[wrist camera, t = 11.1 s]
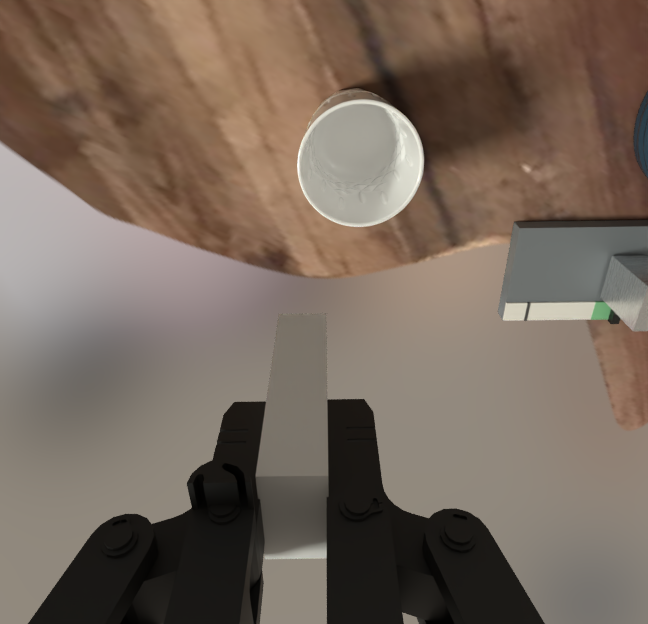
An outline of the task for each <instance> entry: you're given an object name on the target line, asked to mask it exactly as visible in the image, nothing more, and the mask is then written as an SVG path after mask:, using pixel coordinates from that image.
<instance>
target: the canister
mask: <svg viewBox="0 0 648 624" xmlns="http://www.w3.org/2000/svg"><path fill="white" fill-rule="evenodd" d="M634 151H635V156H636V159H637V162H638V164H639V166H640V168H641V170H642V172H643V173H644V174H645V176H646V177H647V178H648V91H647V93H646V95H645V97H644V99H643V101H642V103H641V106H640V108H639V111H638V114H637V118H636V122H635V128H634Z"/></svg>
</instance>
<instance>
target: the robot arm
mask: <svg viewBox="0 0 648 624" xmlns="http://www.w3.org/2000/svg"><path fill="white" fill-rule="evenodd" d="M187 486H188V491H189V496H190V500H191V505H192V508H191V509H190V510H188V511H187V512H185V513H183V514H181V515H179V516H176V517H174V518H171V519H167V520H164V521H161V522H157V523H154V524H151V523H150V522H149V520H148V519H147V518H145V517H143V516H141V515H138V514H124V515H120V516H117V517H113V518H112V519H110V520H108V521H106V522H105V523H103V524H102V525H100V526H99V527H98V528H97V529H96V530H95V532H94V533H93V534H92V535H91V536H90V538H89V539H88V540H87V542H86V543H85V544H84V546H83V547H82V549H81V550H80V551H79V553H78V554H77V556H76V557H75V558H74V560H73V561H72V563H71V564H70V565H69V567H68V568H67V570H66V571H65V572H64V574H63V576H62V577H61V578H60V580H59V581H58V582H57V584H56V585H55V587H54V588H53V589H52V591H51V592H50V594H49V595H48V596H47V598H46V599H45V601H44V602H43V603H42V605H41V606H40V608H39V609H38V611H37V612H36V613H35V615H34V616H33V617H32V619H31V620H30V622H29V623H28V624H260V614H261V603H262V594H263V584H264V583H263V574H262V564H263V554H265V559H309V558H310V559H313V558H327V624H404V623H403V615H402V612H403V613H406V614H409V615H412V616H415V617H417V619H418V622H419V624H545V623H544V622H543V620H542V618H541V617H540V615H539V613H538V612H537V610H536V608H535V607H534V605H533V603H532V602H531V600H530V598H529V597H528V595H527V593H526V592H525V590H524V588H523V587H522V585H521V583H520V582H519V580H518V578H517V577H516V575H515V573H514V572H513V570H512V568H511V567H510V565H509V563H508V562H507V560H506V558H505V557H504V555H503V553H502V552H501V550H500V548H499V547H498V545H497V543H496V542H495V540H494V538H493V537H492V535H491V533H490V532H489V530H488V528H487V527H486V526H485V525H484V524H483V523H482V521H481V520H480V519H478V518H477V517H475V516H474V515H472V514H471V513H469V512H466V511H463V510H459V509H443V510H441V511H438V512H436V513H434V514H433V515H432V516H431V517H430V518H425V517H422V516H418V515H415V514H411V513H409V512H406V511H403V510H402V509H400V508H399V507H397V506H396V505H394V504H393V503H392V502H391V501H390V500H389V499H388V497H387V495H386V494H385V492H384V489H383V485H382V478H381V470H380V462H379V454H378V446H377V438H376V430H375V422H374V415H373V411H372V410H371V408H370V407H369V405H368V404H367V403H366V401H365V400H364V399H347V400H346V399H342V400H338V399H337V400H327V336H326V313H322V314H279V315H278V322H277V330H276V337H275V343H274V351H273V357H272V365H271V371H270V378H269V385H268V392H267V400H266V402H234V403H233V404H232V406H231V407H230V408H229V409H228V410H227V412H226V413H225V414H224V415H223V420H222V424H221V428H220V433H219V436H218V440H217V445H216V448H215V452H214V457H213V460H212V461H210V462H208V463H206V464H204V465H202V466H200V467H199V468H198V469H197V470H195V471H194V472H193V473H192V475H191V476H190V478H189V480H188V482H187Z"/></svg>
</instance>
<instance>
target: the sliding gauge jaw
mask: <svg viewBox="0 0 648 624" xmlns="http://www.w3.org/2000/svg"><path fill="white" fill-rule="evenodd" d="M600 298H601V299H602V300H603V301H604V302H605V303H606V304H607V305H608V306H609V307H610V308H611V311H610V315H609V318H608V321H609V322H610V324H619V321H620V318H621V319H622V320H623V321H624V322H625V323H626V324H627V326H628V327H629V328H630V329H631V330H632V331H648V256H647V255H634V256H612V257H611V261H610V264H609V267H608V271H607V274H606V278H605V281H604V285H603V288H602V292H601V295H600Z"/></svg>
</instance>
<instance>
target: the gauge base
mask: <svg viewBox="0 0 648 624" xmlns="http://www.w3.org/2000/svg"><path fill="white" fill-rule="evenodd" d="M634 255H647V256H648V220H610V221H541V222H514V225H513V231H512V236H511V242H510V248H509V253H508V259H507V264H506V270H505V275H504V281H503V286H502V292H501V297H500V303H499V309H498V313H499V315H500V316H501V318H502V320H503V321H507V320H524V321H527V320H580V319H591V320H598V319H608V318H609V315H610V311H611V308H610V307H609V306H608V305H607V304H606V303H605V302H604V301H603V300H602V299H601V298H600V295H601V292H602V288H603V285H604V281H605V278H606V274H607V271H608V267H609V264H610V261H611V257H612V256H634ZM620 319H621V318H620Z"/></svg>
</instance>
